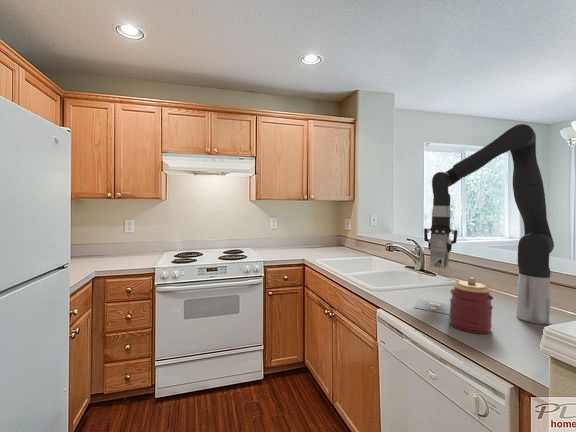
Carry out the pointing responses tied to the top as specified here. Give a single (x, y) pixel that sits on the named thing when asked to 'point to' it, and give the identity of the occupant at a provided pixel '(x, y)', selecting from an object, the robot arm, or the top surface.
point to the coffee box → (439, 250)
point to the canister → (471, 307)
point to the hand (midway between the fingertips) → (439, 251)
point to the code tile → (433, 306)
